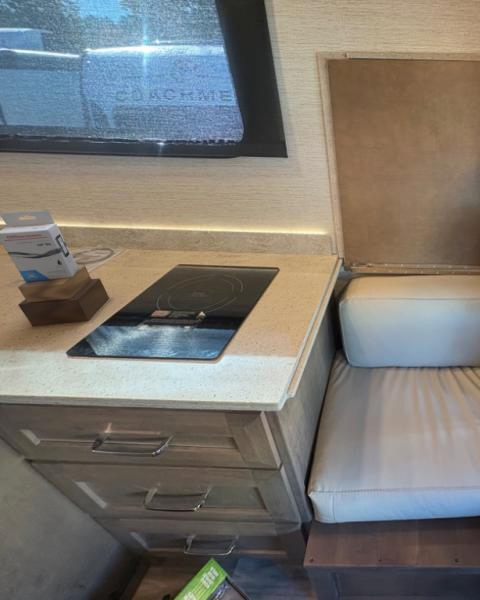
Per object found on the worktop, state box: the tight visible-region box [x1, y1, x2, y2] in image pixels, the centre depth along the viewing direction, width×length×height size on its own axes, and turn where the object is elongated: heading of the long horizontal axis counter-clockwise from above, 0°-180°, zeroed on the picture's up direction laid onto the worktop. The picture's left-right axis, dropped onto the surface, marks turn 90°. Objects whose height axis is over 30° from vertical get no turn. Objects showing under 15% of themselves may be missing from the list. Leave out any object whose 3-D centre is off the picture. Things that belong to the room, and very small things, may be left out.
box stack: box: [17, 265, 110, 327], centre depth 80 cm, size 11×11×10 cm
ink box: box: [0, 209, 79, 283], centre depth 74 cm, size 8×5×15 cm, turn 115°
